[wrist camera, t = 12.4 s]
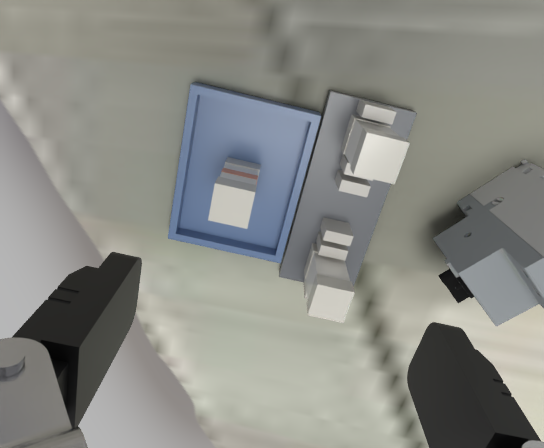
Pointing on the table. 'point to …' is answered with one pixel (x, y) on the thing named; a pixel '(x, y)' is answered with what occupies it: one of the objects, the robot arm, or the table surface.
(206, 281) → the table surface
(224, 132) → the tray
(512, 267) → the circuit breaker
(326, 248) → the fuse holder
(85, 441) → the robot arm
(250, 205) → the block
